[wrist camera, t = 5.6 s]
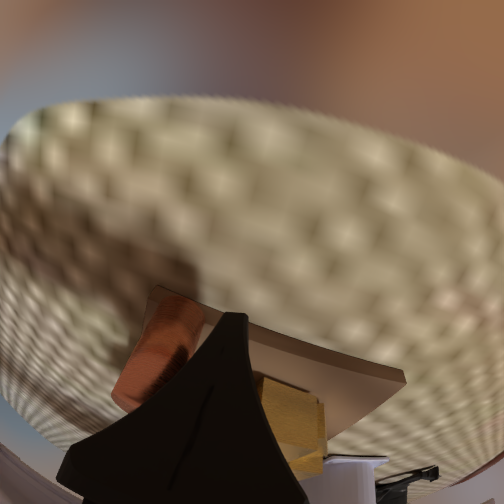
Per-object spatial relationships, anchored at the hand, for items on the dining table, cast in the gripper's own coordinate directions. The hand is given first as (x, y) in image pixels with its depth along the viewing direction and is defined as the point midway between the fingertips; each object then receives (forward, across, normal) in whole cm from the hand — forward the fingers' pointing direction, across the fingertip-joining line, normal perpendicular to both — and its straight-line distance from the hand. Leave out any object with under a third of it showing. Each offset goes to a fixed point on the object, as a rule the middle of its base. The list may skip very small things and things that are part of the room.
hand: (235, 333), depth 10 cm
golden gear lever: (+1, +1, +6) cm, 7 cm away
